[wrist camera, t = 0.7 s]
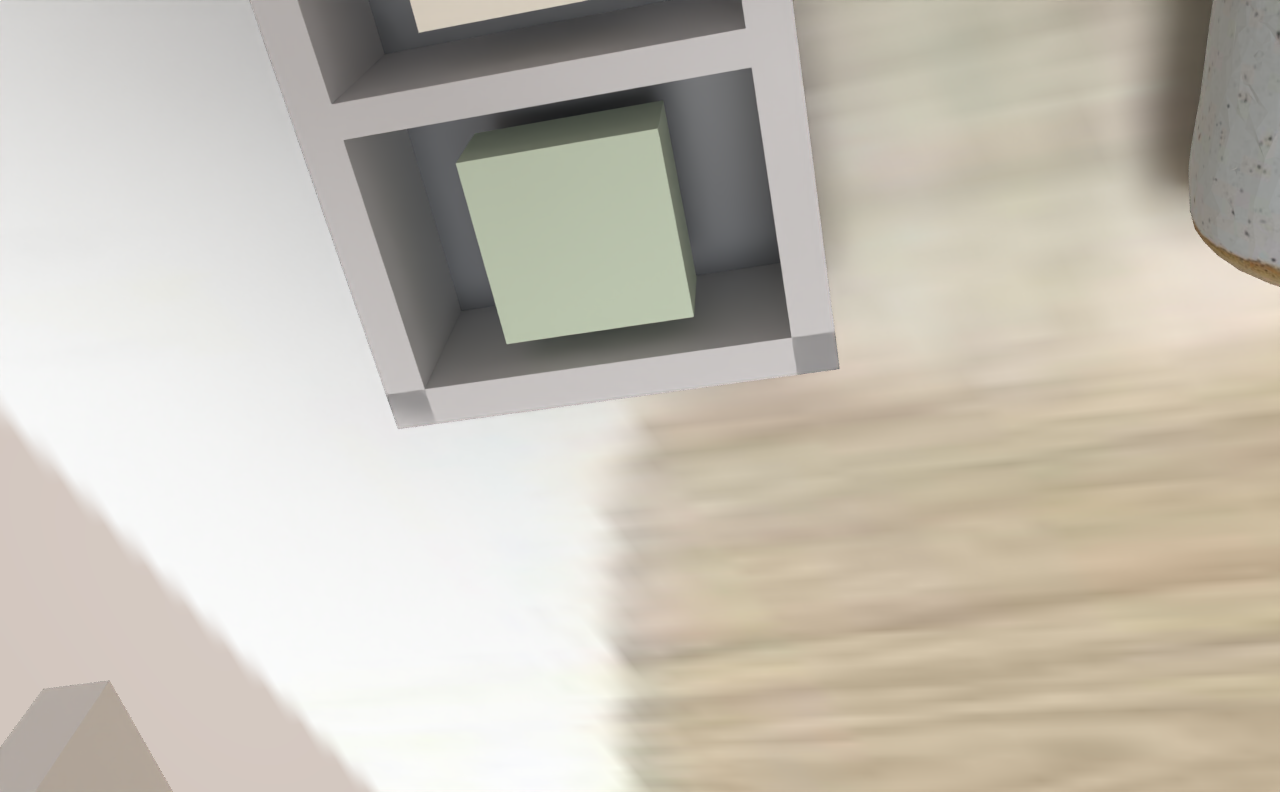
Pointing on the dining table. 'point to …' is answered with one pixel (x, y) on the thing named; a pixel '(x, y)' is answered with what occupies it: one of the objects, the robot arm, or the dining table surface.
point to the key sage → (581, 223)
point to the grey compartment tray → (540, 91)
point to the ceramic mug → (1240, 138)
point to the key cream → (472, 10)
